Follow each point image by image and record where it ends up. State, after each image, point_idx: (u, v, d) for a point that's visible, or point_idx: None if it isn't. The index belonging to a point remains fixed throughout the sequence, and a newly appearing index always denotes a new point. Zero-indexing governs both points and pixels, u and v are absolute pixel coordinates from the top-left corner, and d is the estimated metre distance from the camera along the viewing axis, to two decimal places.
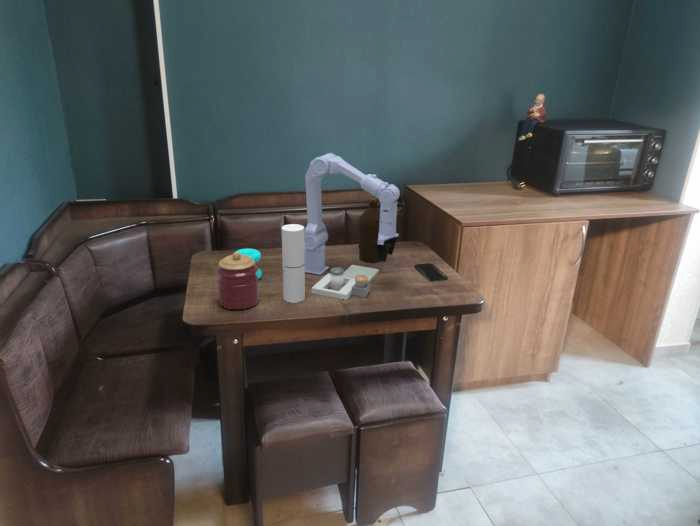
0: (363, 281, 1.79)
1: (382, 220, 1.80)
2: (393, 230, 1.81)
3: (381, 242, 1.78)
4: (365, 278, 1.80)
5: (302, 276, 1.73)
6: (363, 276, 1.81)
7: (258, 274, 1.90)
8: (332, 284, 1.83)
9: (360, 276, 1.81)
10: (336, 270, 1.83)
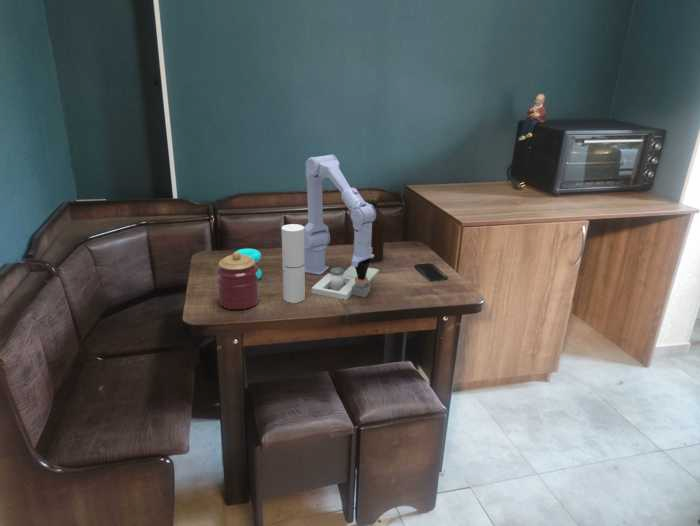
0: (363, 282, 1.79)
1: (354, 240, 1.74)
2: (368, 251, 1.74)
3: (355, 264, 1.71)
4: (365, 279, 1.80)
5: (302, 276, 1.73)
6: None
7: (258, 274, 1.90)
8: (332, 284, 1.83)
9: None
10: (336, 270, 1.83)
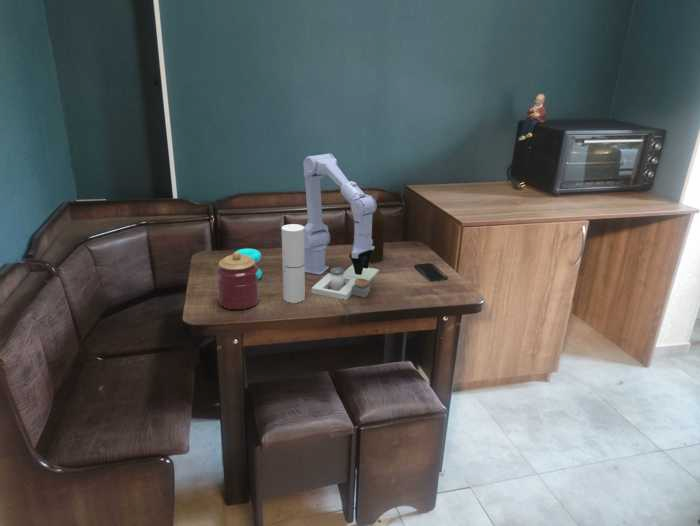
0: (363, 285, 1.79)
1: (354, 231, 1.73)
2: (368, 243, 1.73)
3: (355, 255, 1.70)
4: (365, 282, 1.80)
5: (302, 276, 1.73)
6: (363, 279, 1.82)
7: (258, 274, 1.90)
8: (332, 284, 1.83)
9: (360, 280, 1.82)
10: (336, 270, 1.83)
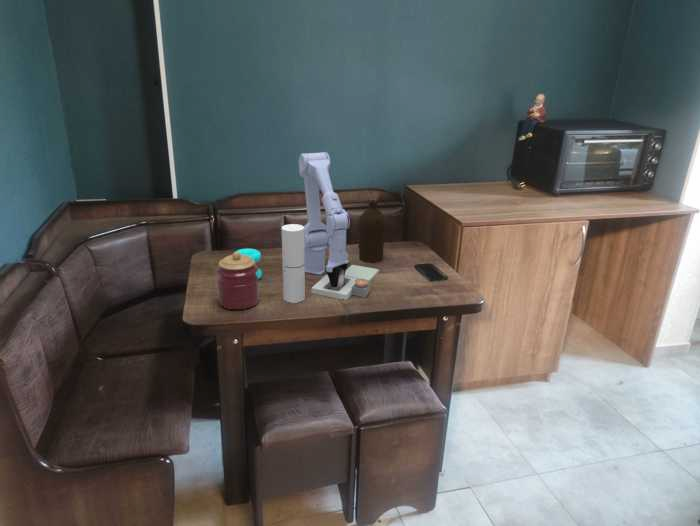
0: (363, 285, 1.79)
1: (329, 245, 1.79)
2: (342, 257, 1.79)
3: (329, 269, 1.76)
4: (365, 282, 1.80)
5: (302, 276, 1.73)
6: (363, 279, 1.82)
7: (258, 274, 1.90)
8: None
9: (360, 280, 1.82)
10: None
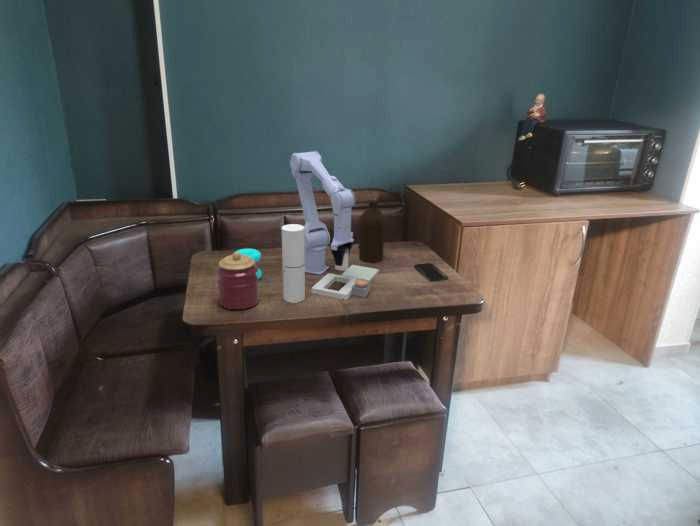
0: (363, 285, 1.79)
1: (334, 224, 1.79)
2: (347, 235, 1.78)
3: (334, 247, 1.75)
4: (365, 282, 1.80)
5: (302, 276, 1.73)
6: (363, 279, 1.82)
7: (258, 274, 1.90)
8: None
9: (360, 280, 1.82)
10: None
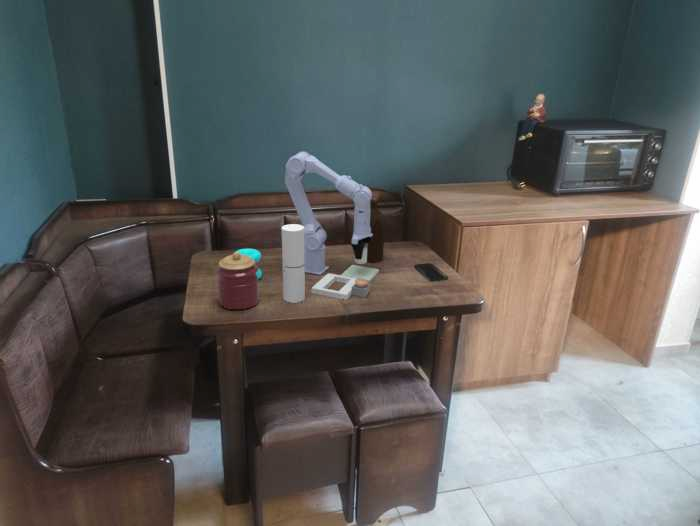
0: (363, 285, 1.79)
1: (357, 221, 1.87)
2: (367, 230, 1.89)
3: (355, 242, 1.85)
4: (365, 282, 1.80)
5: (302, 276, 1.73)
6: (363, 279, 1.82)
7: (258, 274, 1.90)
8: None
9: (360, 280, 1.82)
10: None
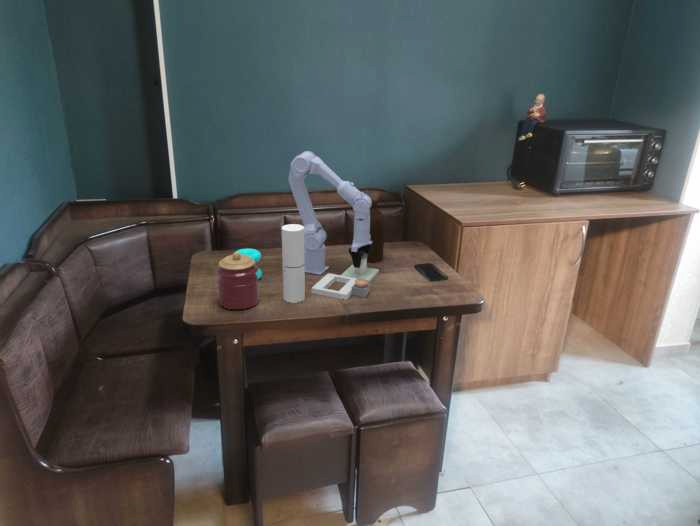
0: (363, 285, 1.79)
1: (357, 228, 1.88)
2: (366, 238, 1.90)
3: (355, 249, 1.86)
4: (365, 282, 1.80)
5: (302, 276, 1.73)
6: (363, 279, 1.82)
7: (258, 274, 1.90)
8: (356, 268, 1.95)
9: (360, 280, 1.82)
10: None
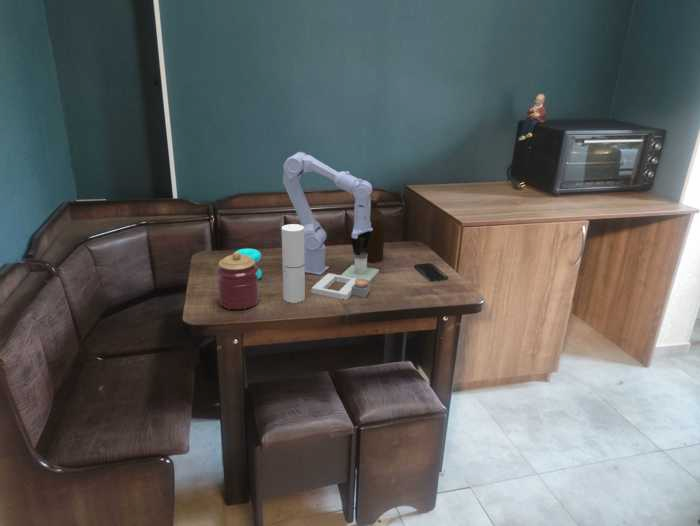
0: (363, 285, 1.79)
1: (357, 215, 1.86)
2: (367, 224, 1.88)
3: (355, 236, 1.85)
4: (365, 282, 1.80)
5: (302, 276, 1.73)
6: (363, 279, 1.82)
7: (258, 274, 1.90)
8: (356, 267, 1.95)
9: (360, 280, 1.82)
10: (360, 254, 1.94)
